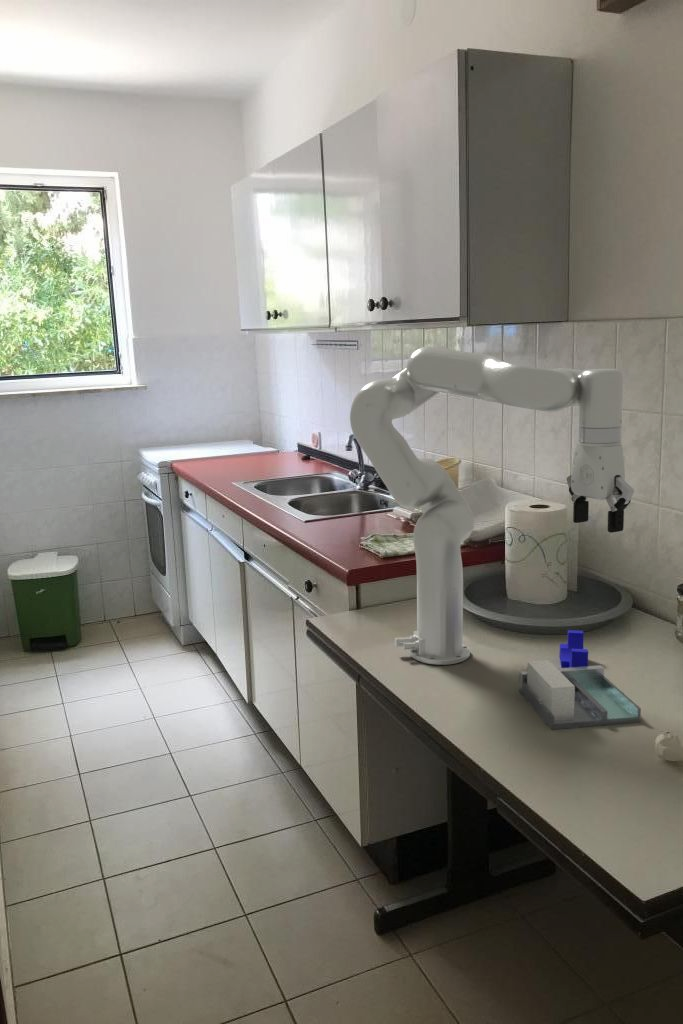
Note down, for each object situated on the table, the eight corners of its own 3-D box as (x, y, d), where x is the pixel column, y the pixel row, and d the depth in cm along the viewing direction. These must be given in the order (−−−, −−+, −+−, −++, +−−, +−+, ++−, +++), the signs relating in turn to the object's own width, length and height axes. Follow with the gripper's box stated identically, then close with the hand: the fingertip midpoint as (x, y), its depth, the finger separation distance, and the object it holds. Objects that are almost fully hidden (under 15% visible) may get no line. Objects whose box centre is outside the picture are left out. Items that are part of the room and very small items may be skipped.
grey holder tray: (551, 729, 142) (552, 691, 141) (519, 691, 158) (519, 656, 156) (640, 722, 144) (642, 684, 143) (599, 684, 160) (601, 650, 158)
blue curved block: (559, 657, 175) (560, 629, 173) (581, 658, 174) (582, 630, 172) (563, 680, 163) (564, 650, 162) (587, 681, 162) (588, 652, 161)
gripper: (553, 434, 161) (552, 520, 165) (616, 442, 146) (613, 538, 149) (585, 431, 164) (583, 516, 168) (649, 438, 149) (646, 532, 152)
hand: (597, 526), depth 158 cm, fingers open, 9 cm apart
